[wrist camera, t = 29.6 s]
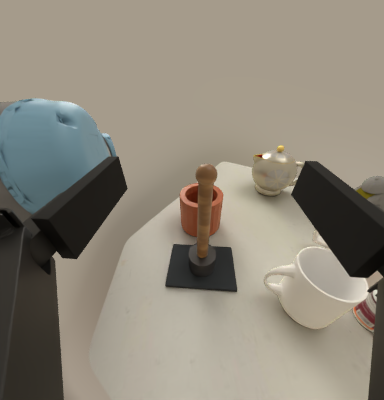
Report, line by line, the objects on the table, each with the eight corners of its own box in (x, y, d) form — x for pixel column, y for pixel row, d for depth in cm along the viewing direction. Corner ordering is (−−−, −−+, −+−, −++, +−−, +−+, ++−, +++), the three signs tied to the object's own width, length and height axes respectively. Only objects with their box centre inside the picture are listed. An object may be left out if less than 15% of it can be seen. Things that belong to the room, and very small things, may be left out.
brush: (183, 263, 36) (177, 163, 22) (202, 249, 39) (206, 153, 25) (201, 282, 33) (206, 179, 19) (219, 265, 36) (237, 165, 22)
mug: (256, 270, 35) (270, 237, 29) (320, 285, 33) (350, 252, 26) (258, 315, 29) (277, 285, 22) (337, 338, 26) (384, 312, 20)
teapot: (246, 198, 57) (258, 151, 47) (245, 178, 67) (254, 137, 57) (304, 205, 53) (329, 156, 44) (293, 183, 64) (311, 141, 54)
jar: (173, 221, 48) (171, 192, 42) (201, 206, 53) (202, 178, 47) (199, 244, 41) (200, 214, 35) (227, 224, 47) (232, 195, 41)
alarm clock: (370, 218, 48) (410, 172, 39) (392, 236, 43) (445, 187, 34) (329, 218, 48) (360, 171, 39) (346, 236, 43) (387, 187, 34)
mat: (165, 286, 33) (165, 285, 33) (173, 245, 41) (173, 243, 40) (236, 291, 32) (237, 290, 32) (230, 248, 40) (231, 247, 40)
